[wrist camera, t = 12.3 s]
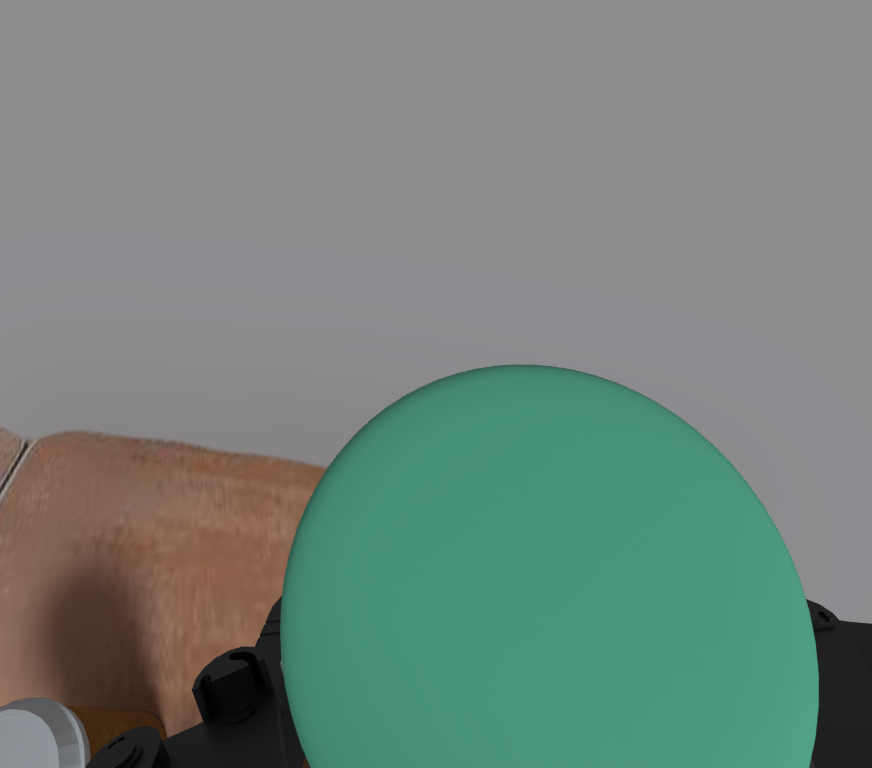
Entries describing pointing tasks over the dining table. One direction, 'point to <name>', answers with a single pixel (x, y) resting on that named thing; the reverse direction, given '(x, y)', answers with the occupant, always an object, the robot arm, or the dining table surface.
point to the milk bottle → (543, 590)
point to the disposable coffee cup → (61, 732)
